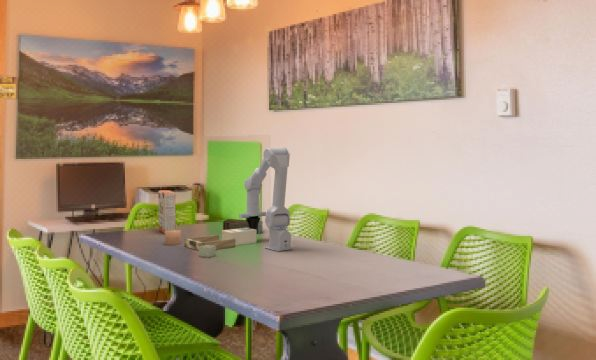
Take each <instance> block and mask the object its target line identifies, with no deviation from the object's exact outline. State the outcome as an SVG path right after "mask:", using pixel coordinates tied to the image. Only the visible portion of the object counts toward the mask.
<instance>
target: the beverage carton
mask: <svg viewBox="0 0 596 360" xmlns="http://www.w3.org/2000/svg"><path fill="white" fill-rule="evenodd" d="M240 228H250V227H249V224H248V222H247V220H246V219H235V218H233V219H232V218H229V219H225V220H224V221H223V222H222V230H231V229H240ZM256 230H257V233H256V235H260V234H261V233H263V221H262V220H260V221H259V222H258V224H257V227H256Z"/></svg>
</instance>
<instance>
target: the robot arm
mask: <svg viewBox="0 0 596 360" xmlns="http://www.w3.org/2000/svg"><path fill="white" fill-rule="evenodd" d="M262 155H263V159H262V162H261V164H260V166H259V167H256V168H255V169H254V171H253V172H252V174H251V176H250V177H246V178H245V180H244V188H245V190H246V212H244V213H239V214H238V218H239V219H240V220H244V219H245V220H247V222H248V224H249V227H250V228H251V229H255V230H256V227H257V224H258V222H259V221H261V217H265V218H264V223H265V226H266V227H267V228H268V229H269V235H268V238H269V241H268V242H269V244H268V245H269V246H265V249H268V250H273V251H276V252H282V251H287V250H289V251H290V250H292V249H293V248H292V246H291V245H292V244H291V242H292V240H291V239H292V236H291V232H290V231H289V230H287V229H288V227H289V226H290V224H291V216H290V210H289V209H288V208H287V207H286V206H285V203H286V189H287V179H288V168H289V167H290V157H291V156H290V155H291V153H290V152H289V149H288V148H287V147H266V148H265V149H264V152H263V154H262ZM269 168H273V170H274V179H273V194H272V203H271V204H272V205H271V206H270V207H269V208H268V209H267V211H260V194H261V190H262V186H263V184H262V183H263V181H264V180H265V178H266V176H267V171H268V170H269Z"/></svg>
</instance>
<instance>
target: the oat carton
mask: <svg viewBox="0 0 596 360" xmlns="http://www.w3.org/2000/svg"><path fill="white" fill-rule="evenodd" d="M256 233H257V230H255V229H251V228H240V229H231V230H223V229H222V230H221V240H227V239H235V246H241V245H248V244H256V243H257V234H256Z"/></svg>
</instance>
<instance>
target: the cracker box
mask: <svg viewBox="0 0 596 360" xmlns="http://www.w3.org/2000/svg"><path fill="white" fill-rule="evenodd" d="M158 229H159V231H160V232H161V233H162V234H164V235H165V231H166V230H177V227H176V192H174V191H172V190H170V189H169V190H166V189H165V190H164V189H162V190H161V189H160V190H158Z"/></svg>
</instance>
